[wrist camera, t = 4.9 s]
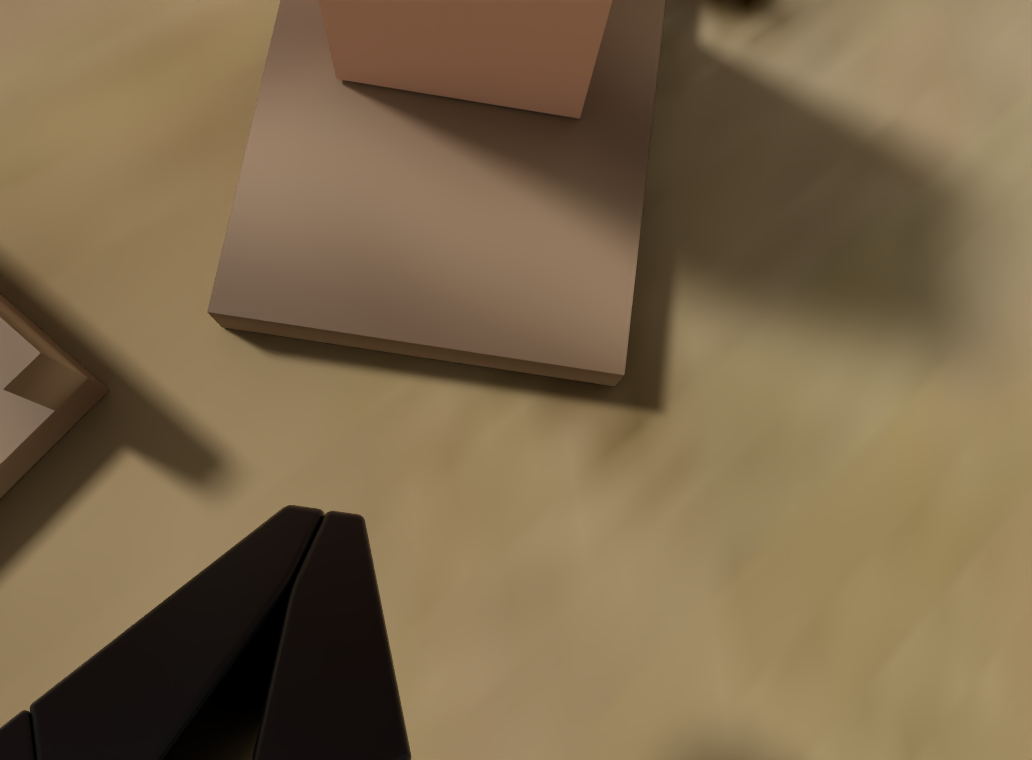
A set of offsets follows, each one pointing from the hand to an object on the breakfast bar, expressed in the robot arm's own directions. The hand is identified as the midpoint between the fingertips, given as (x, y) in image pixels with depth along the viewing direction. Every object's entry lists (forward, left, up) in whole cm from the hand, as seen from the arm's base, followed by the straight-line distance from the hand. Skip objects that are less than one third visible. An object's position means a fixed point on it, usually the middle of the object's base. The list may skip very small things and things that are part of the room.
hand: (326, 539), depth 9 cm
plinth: (+5, -8, -7) cm, 12 cm away
